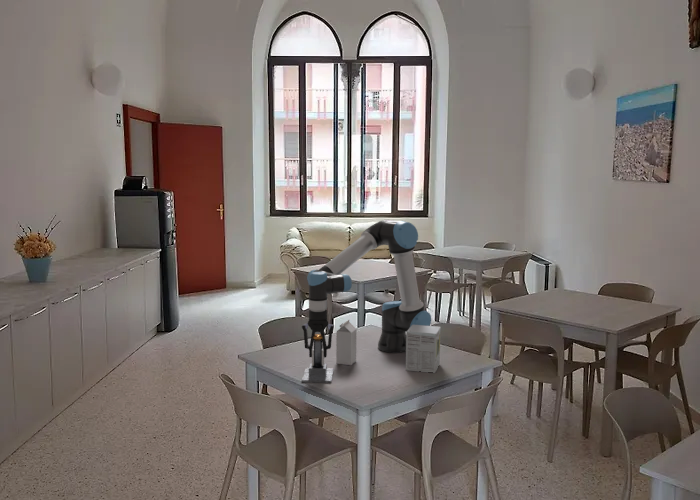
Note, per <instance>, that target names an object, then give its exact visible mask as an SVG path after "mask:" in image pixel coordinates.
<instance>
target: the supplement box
mask: <svg viewBox="0 0 700 500" xmlns="http://www.w3.org/2000/svg"><path fill="white" fill-rule="evenodd" d="M441 329H442V328H441V326H437V325H436V326H435V325H430V326H425V325H412V326H411V327H410V328H409V329H408V330H407V332H406V351H405V371H408V372H409V371H410V372H419V371H421V373H428V372H433V373H432V374H435V373H436V372H437V370H438V368H439V367H438V366H440V365H439V364H440V362H441V360H440V359H441V357H440V356H441Z"/></svg>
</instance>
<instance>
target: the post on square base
mask: <svg viewBox="0 0 700 500" xmlns="http://www.w3.org/2000/svg"><path fill="white" fill-rule="evenodd" d="M322 349H323V343H322ZM333 375H334V367H331V368H330V367H328V363H327V362H326V363H325V362H324V366H322V368H314V366H312V362H310V363H309V367H305V370H304V372H303V376H302V378H301V383H307V384H308V383H311V384H312V383H314V384H317V383H318V384H332V381H333Z"/></svg>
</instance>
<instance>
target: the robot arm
mask: <svg viewBox="0 0 700 500" xmlns="http://www.w3.org/2000/svg"><path fill="white" fill-rule="evenodd" d="M418 240H419V232H418V229H417V228H416V226H415V224H413V223H411V222H408V221H406V220H394V219H393V220H392V219H382V220H380V221H377V222H375V223H373V224H372V225H371V226H369V227H368V228H366V229H365V230H364V231H363V232H361V235H360V236H359V237H358V238H357V239H356V240H354V241H353V242H352V243H351V244H350V245H347V247H345V249H343V250H342V251H341V252H340V253H338V254H337V255H336V256H334V257H333V258H332V259H331V260H330V261H328V262H327V263H326V264H324V265H322V267H320V268H319V269H312V270H310V271H309V272H308V274H307V276H306V277H307V278H306V279H307V282H308V283H307V284H308V309H309V310H308V321H307V322H306V323H303V324H301V325H302V326H301V329H302V330H303V341H304V349H307V350H308V353H309V355H308V356H309V358H311V363H312V366H314V339H313V336H315V334H316V333H317V332H318V333H319V334H321V336H323V339H322V344H323V349H322V366H324V363H325V358H327V357H328V351H327V350H331V347H332V339H333V330H334V328H335V325H334V324H331V323H329V321H328V310H327V309H328V295H331V294H341V293H343V294H344V293H345V292H349V291H350V290H351V289H352V283H353V282H352V278H351V276H350V275H349V274H347V273H343V272H345V271H346V270H347V269H349V268H350V267H351V266H352V265H353V264H355V263H356V262H357V261H359V259H361V258H362V257H364V256H365V255H366V254H368V253H369V252H370V251H372V250H376V249H377V248H378V247H380V246H388V251H389V254H390V255H392V256H393V261H394V266H395V273H396V279H397V284H398V290H399V295H400V300H394V301H393V300H392V301H386V302H383V304H382V306H381V334H380V336H379V340H378V342H377V349H378V350H379V351H381V352H382V351H383V352H385V353H405V352H406V332H407V330H408V329H409V328H410V327H411V326H412V325H425V326H431V323H432V316H431V314H430V312H429V311H427V310H426V309H425V304H424V302H423V301H421V299H420V295H419V294H420V293H419V288H418V287H419V286H418V281H417V280H418V279H417V274H416V269H415V263H414V256H413V252H414V250H415V249H416V247H415V246H416V245H417V243H418ZM309 328H310V330H311V337H310V342H309V337H308V336H309V335H308V329H309ZM326 328H327V329H328V342H327V340H326V335H325V330H326Z"/></svg>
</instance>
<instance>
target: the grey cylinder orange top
mask: <svg viewBox="0 0 700 500" xmlns="http://www.w3.org/2000/svg"><path fill="white" fill-rule="evenodd" d="M313 339H314V342H313V349H314V368H322V344H323V343H322V339H323V336H321V333H317V334H316V333H315V336H313Z"/></svg>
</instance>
